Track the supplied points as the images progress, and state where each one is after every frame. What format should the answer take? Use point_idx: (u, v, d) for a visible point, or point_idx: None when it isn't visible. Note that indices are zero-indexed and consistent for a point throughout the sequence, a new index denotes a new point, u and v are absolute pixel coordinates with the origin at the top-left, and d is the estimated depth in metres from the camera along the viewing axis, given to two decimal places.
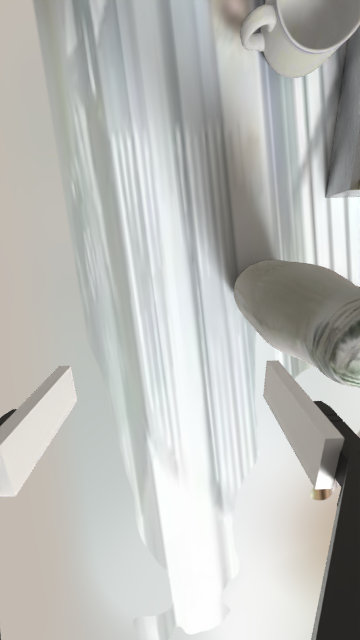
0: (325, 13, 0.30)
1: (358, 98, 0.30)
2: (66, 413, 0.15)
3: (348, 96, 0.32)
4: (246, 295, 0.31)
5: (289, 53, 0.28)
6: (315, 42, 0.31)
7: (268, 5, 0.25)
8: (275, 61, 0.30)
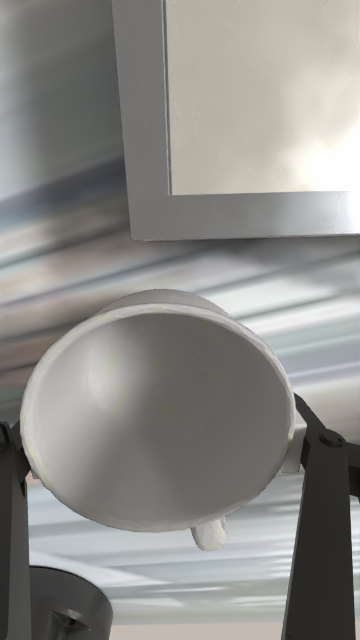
0: None
1: (348, 234, 0.10)
2: None
3: None
4: None
5: None
6: (177, 320, 0.15)
7: (195, 530, 0.11)
8: None
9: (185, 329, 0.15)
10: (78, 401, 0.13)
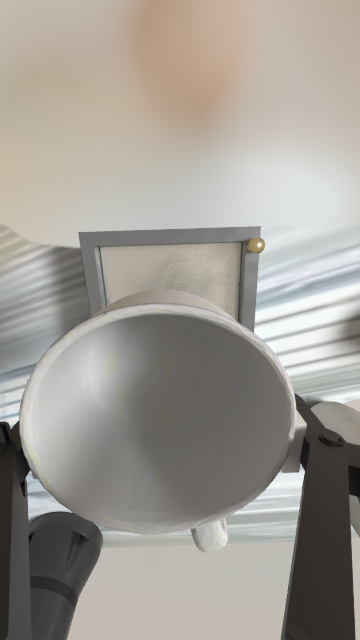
0: None
1: None
2: None
3: None
4: None
5: None
6: (177, 320, 0.15)
7: (195, 531, 0.11)
8: None
9: (185, 329, 0.15)
10: (78, 402, 0.13)
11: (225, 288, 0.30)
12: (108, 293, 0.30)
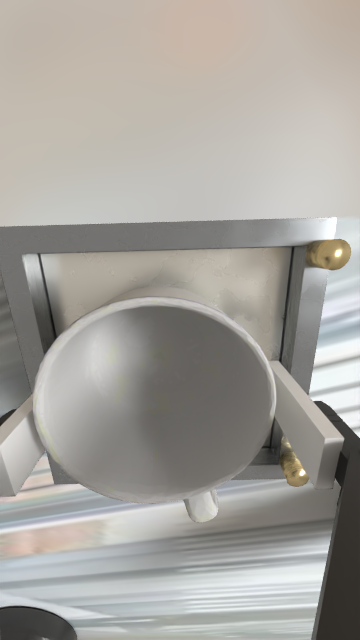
0: (134, 308, 0.15)
1: None
2: None
3: None
4: None
5: None
6: (173, 314, 0.16)
7: (188, 502, 0.13)
8: None
9: (180, 323, 0.16)
10: (82, 388, 0.14)
11: (259, 325, 0.17)
12: (60, 332, 0.18)
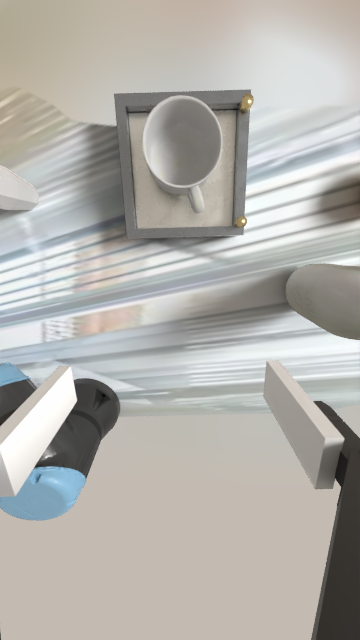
0: (169, 135, 0.37)
1: None
2: (66, 413, 0.15)
3: (173, 237, 0.44)
4: None
5: None
6: (185, 140, 0.37)
7: (192, 192, 0.34)
8: None
9: (188, 145, 0.37)
10: (149, 161, 0.35)
11: (224, 151, 0.38)
12: (133, 155, 0.39)
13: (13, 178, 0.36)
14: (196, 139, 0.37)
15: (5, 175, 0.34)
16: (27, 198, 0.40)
